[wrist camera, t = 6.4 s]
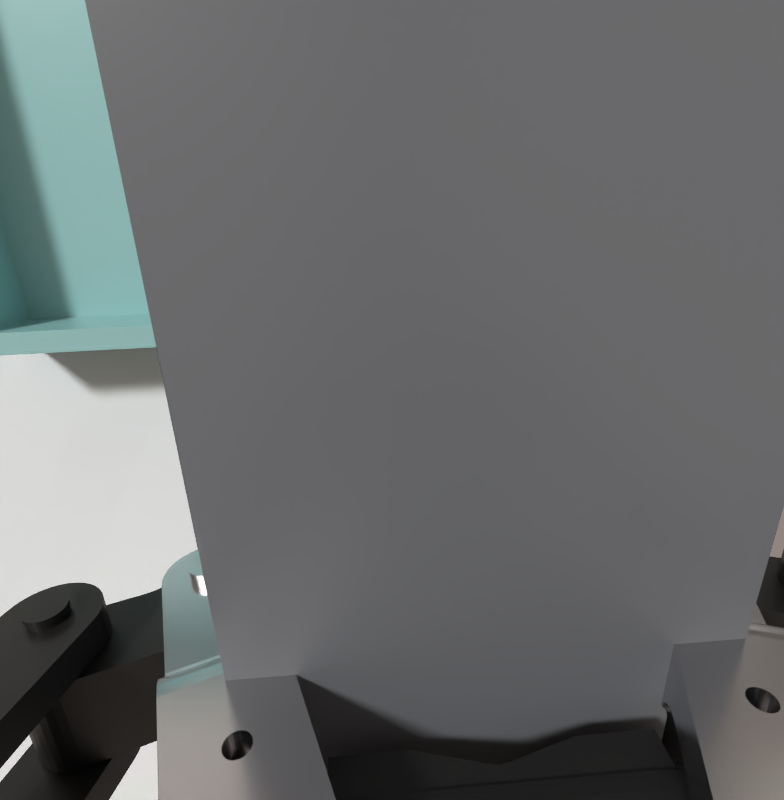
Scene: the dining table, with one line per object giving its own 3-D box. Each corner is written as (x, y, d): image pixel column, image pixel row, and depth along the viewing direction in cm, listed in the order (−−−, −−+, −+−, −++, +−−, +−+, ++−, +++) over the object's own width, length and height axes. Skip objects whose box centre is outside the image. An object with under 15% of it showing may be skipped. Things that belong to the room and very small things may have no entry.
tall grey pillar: (263, -27, 9) (-106, -932, 2) (535, -30, 10) (1167, -844, 2) (323, 569, 14) (286, 979, 7) (503, 557, 14) (660, 940, 7)
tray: (-157, -276, 15) (-281, -394, 12) (174, -276, 15) (131, -389, 12) (24, 336, 21) (-29, 356, 18) (254, 325, 22) (237, 342, 19)
